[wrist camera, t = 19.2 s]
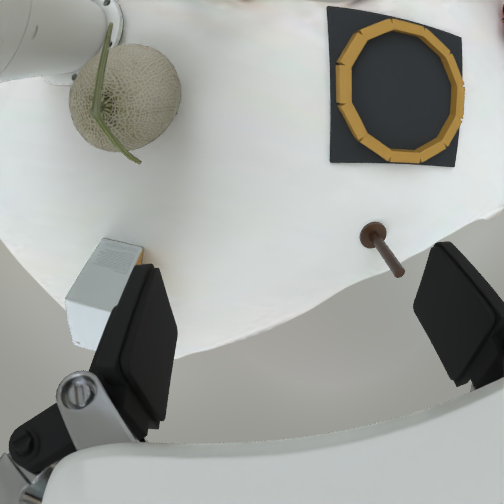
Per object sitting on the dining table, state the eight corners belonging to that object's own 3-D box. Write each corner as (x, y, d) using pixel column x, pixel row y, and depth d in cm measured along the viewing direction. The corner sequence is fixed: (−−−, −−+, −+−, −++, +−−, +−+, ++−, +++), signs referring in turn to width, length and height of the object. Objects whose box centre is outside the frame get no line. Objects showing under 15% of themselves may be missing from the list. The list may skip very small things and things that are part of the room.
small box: (141, 290, 43) (118, 358, 32) (102, 281, 42) (72, 345, 31) (145, 246, 39) (115, 313, 28) (102, 236, 38) (62, 298, 27)
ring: (332, 11, 23) (336, 8, 22) (457, 40, 23) (464, 40, 22) (335, 158, 33) (338, 161, 32) (451, 163, 33) (457, 166, 32)
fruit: (127, 158, 32) (67, 213, 20) (89, 77, 26) (7, 90, 14) (206, 121, 31) (184, 153, 18) (168, 33, 25) (118, 5, 12)
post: (361, 222, 38) (388, 260, 31) (387, 221, 38) (417, 257, 31) (358, 247, 41) (381, 288, 33) (382, 245, 41) (409, 284, 33)
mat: (326, 7, 23) (327, 5, 23) (458, 37, 24) (461, 37, 23) (329, 161, 34) (331, 162, 33) (452, 165, 34) (454, 167, 33)
